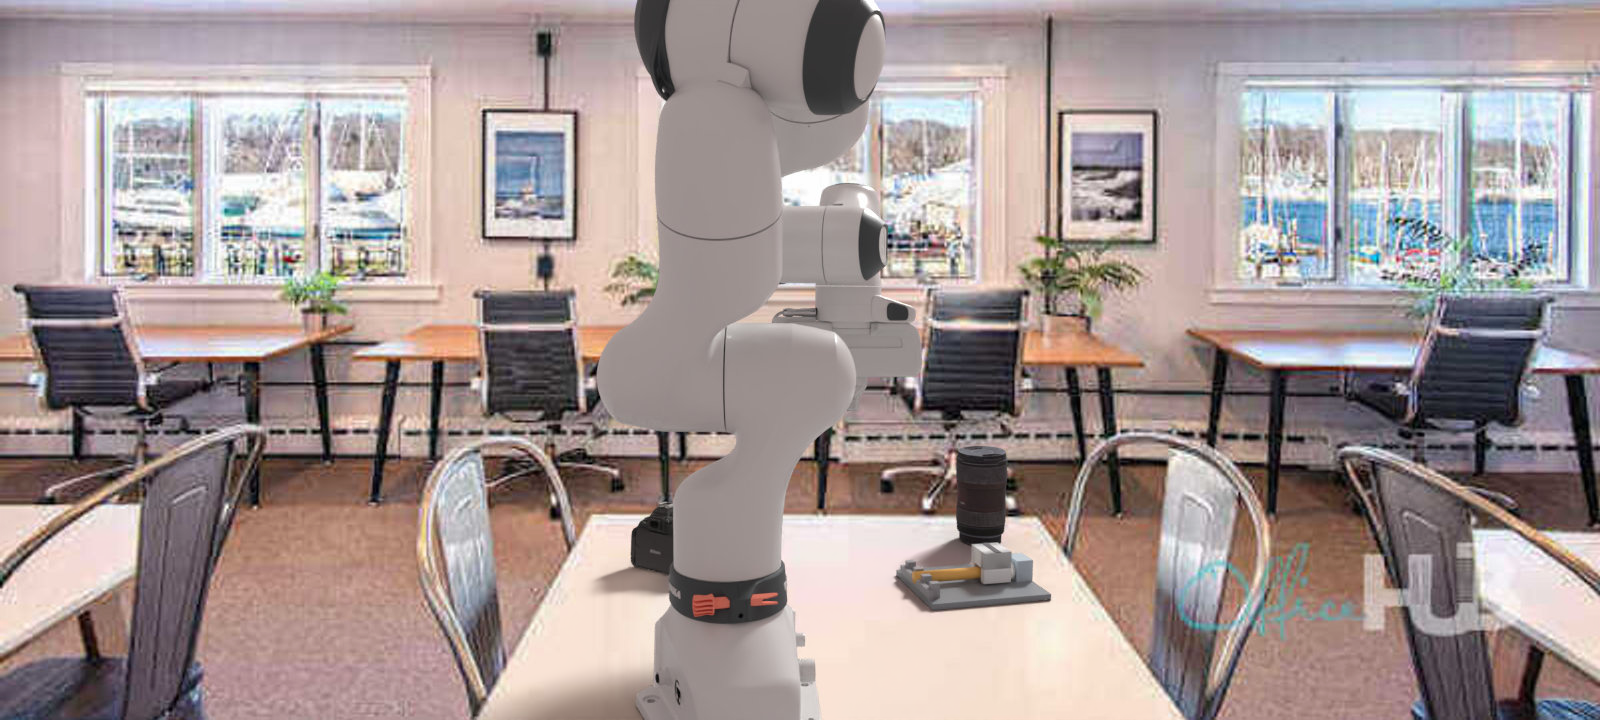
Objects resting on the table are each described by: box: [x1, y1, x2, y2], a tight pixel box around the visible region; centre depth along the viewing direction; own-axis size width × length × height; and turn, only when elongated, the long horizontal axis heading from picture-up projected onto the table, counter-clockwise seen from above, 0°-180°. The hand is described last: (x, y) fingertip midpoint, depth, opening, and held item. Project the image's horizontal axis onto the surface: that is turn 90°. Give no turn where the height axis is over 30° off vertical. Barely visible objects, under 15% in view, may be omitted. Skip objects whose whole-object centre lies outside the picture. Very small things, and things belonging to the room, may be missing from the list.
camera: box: [630, 501, 674, 576], centre depth 138 cm, size 13×10×10 cm
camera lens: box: [955, 445, 1008, 546], centre depth 152 cm, size 8×8×15 cm
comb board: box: [895, 552, 1052, 611], centre depth 131 cm, size 14×17×4 cm
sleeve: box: [970, 543, 1013, 584], centre depth 132 cm, size 4×4×4 cm
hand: (846, 410), depth 127 cm, fingers closed
